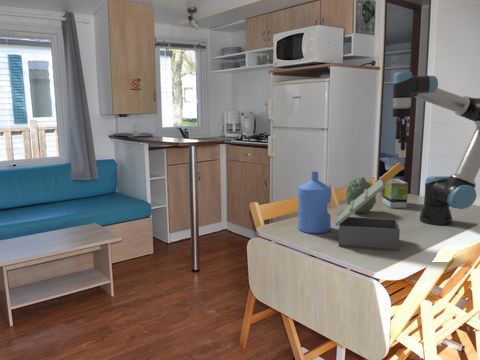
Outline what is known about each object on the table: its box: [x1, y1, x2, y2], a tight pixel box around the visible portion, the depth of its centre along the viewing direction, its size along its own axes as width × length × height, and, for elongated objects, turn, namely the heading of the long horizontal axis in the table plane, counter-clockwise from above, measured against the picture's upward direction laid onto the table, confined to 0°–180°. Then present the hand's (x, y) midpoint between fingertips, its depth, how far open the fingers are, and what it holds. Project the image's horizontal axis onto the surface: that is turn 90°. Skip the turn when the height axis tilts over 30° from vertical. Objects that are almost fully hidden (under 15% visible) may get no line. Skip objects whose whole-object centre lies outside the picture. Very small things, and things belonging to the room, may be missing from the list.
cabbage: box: [345, 176, 377, 214], centre depth 234 cm, size 16×19×20 cm
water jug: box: [297, 171, 332, 234], centre depth 204 cm, size 16×16×28 cm
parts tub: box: [338, 216, 401, 252], centre depth 185 cm, size 24×16×9 cm, turn 74°
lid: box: [335, 162, 405, 226], centre depth 182 cm, size 36×17×3 cm
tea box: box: [381, 178, 409, 209], centre depth 251 cm, size 15×10×15 cm, turn 179°
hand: (400, 155), depth 193 cm, fingers open, 13 cm apart
